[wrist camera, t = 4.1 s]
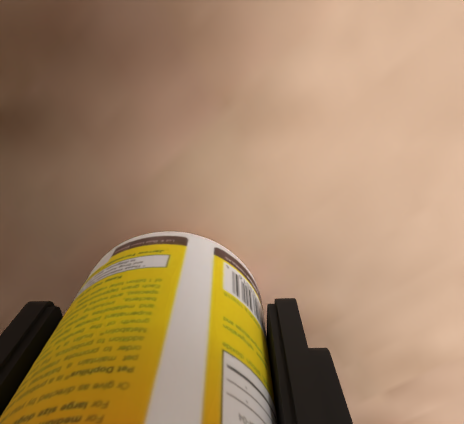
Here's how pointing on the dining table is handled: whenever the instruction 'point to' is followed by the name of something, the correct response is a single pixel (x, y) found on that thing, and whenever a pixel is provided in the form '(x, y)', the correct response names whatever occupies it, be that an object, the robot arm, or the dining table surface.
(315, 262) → the dining table surface
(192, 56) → the dining table surface
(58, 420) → the supplement bottle
